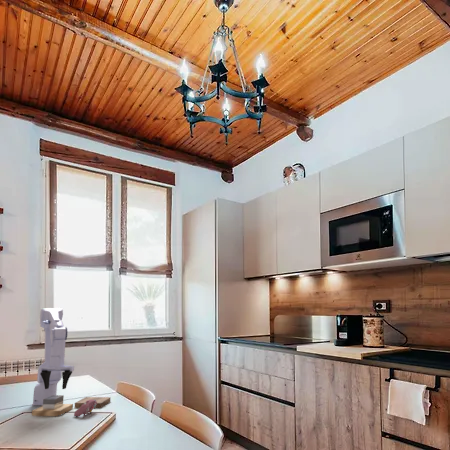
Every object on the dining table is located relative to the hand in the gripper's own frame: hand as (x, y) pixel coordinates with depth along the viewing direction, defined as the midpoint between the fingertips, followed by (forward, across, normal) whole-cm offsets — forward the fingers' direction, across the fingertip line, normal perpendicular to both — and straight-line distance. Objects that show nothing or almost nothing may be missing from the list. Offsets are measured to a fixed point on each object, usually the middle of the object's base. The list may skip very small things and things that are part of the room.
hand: (55, 388), depth 179 cm
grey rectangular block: (+7, 0, 0) cm, 7 cm away
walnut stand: (+9, +12, +13) cm, 20 cm away
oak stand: (+9, 0, 0) cm, 9 cm away
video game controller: (+10, +15, -4) cm, 18 cm away
